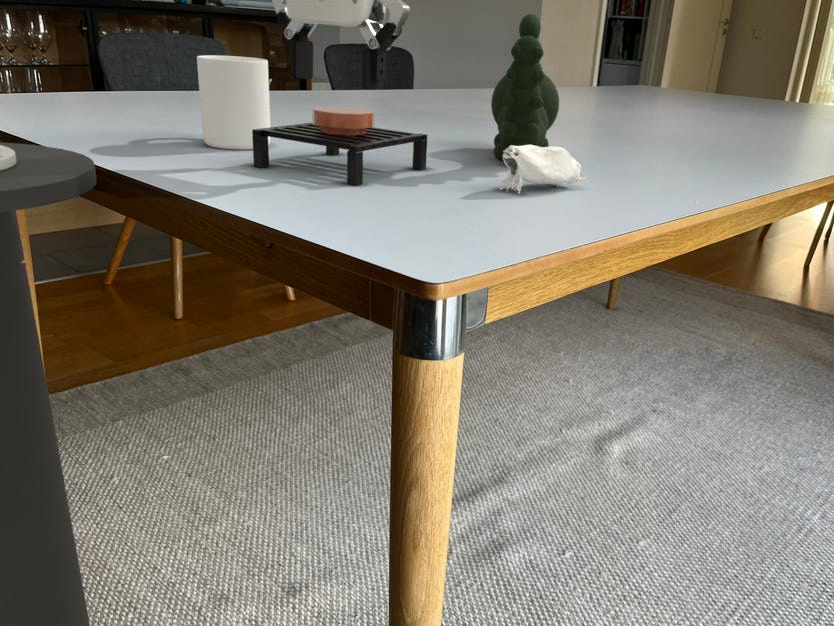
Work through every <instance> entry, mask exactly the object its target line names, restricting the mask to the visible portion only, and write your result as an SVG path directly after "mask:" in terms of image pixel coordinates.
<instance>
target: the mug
mask: <svg viewBox="0 0 834 626" xmlns="http://www.w3.org/2000/svg"><path fill="white" fill-rule="evenodd" d="M196 64H197V65H196V66H197V77H198V79H197V80H198V89H199V90H198V91H199V92H198V93H199V105H200V119H201V132H202V138H203V141H204V143H205V144H206V145H208V146H209V147H211V148H216V149H224V150H242V151H243V150H246V151H247V150H253V138H252V130H253V129H261V128H270V127H271V111H270V110H271V107H270V105H271V104H270V83H269V82H270V81H269V79H270V78H269V61H268V59H266V58H259V57H251V56H250V57H249V56H236V55H216V54H215V55H213V54H212V55H211V54H210V55H209V54H207V55H204V54H203V55H197V56H196ZM271 139H272V137H268V146H269V145H270V144H271V141H272V140H271Z"/></svg>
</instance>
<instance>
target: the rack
mask: <svg viewBox="0 0 834 626" xmlns="http://www.w3.org/2000/svg"><path fill="white" fill-rule="evenodd" d="M268 137H271V138H273V139H281V140H286V141H293V142H299V143H305V144H312V145H315V146H316V145H318V146H323V147H325V154H326V155H330V156H337V155H340V150H347V151H346V171H347V172H346V179H347V180H346V183H347V185H351V186H360V185H363V183H364V152H365V151H372V150H377V149H382V148H383V149H384V148H389V147H395V146H400V145H405V144H410V143H412V144H413V145H412V170H417V171H422V170H426V169H427V157H428V155H427V154H428V150H427V149H428V134H427V133H414V132H407V131H400V130H394V129H387V128H380V127H374V126H373V127H371V128H367V133H366V134H363V135H334V134H327V133H323V132H321V131H320V126H318V125H315V124H313V122H304V123H297V124H296V123H295V124H289V125H278V126H270V128H261V129H253V130H252V138H253V149H252V155H253V167H255V168H261V169H263V168H268V167H269V168H270V155H269V154H270V152H269V145H268Z"/></svg>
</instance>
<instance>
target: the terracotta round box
mask: <svg viewBox="0 0 834 626" xmlns="http://www.w3.org/2000/svg"><path fill="white" fill-rule="evenodd" d="M311 111H312V112H311V113H312V114H311V115H312V123H313V124H315V125H318V126H320V131H321V132H323V133H327V134H334V135H363V134H366V133H367V128H371V127H374V126H375V112H374V110H372V109H368V108H362V107H354V106H339V105H337V106H336V105H326V106H323V105H322V106H315V107H313V108H312V109H311Z"/></svg>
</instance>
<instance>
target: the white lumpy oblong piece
mask: <svg viewBox="0 0 834 626" xmlns="http://www.w3.org/2000/svg"><path fill="white" fill-rule="evenodd" d="M503 152H504V154H503V163H504V165H506V167H507V168H508V171H509V173H508V175H507V176H505V178H504V179H503V180H501V182H500V184H501V186H500V187H499V189H500V191H502V190H503V189H504V188H507V189H506V192H508V191H509V189H510V187H511V190H514V191H515V192H517V194H520V195H521V190H522V187H523V182H527V183H532V184H536V185H538V184H539V185H550V186H556V188H559V187H560V186H561V185H562V184H565V183H566V184H568V185H574V184H577V183H580V182H583V181H586V177H580V176H581V175H580V174H581V170H582V165H581V164H580V163H579V162H578V161H577V160H576V159H575V158H574V157H572V155H571V153H570V152H569V151H567V150H566V149H565V148H564V147H561V146H550V145H549V147H538V146H534V145H523V146H512V145H510V146H509V147H508V149H507V148H506V150H504V151H503Z"/></svg>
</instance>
